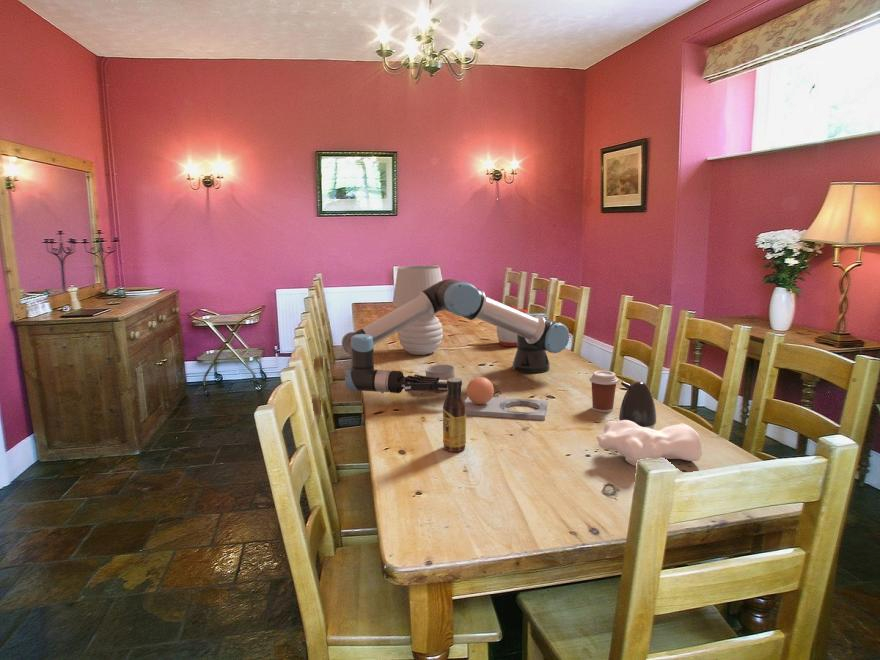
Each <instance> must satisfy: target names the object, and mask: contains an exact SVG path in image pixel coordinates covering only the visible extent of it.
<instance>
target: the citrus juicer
mask: <svg viewBox="0 0 880 660" xmlns="http://www.w3.org/2000/svg"><path fill="white" fill-rule="evenodd" d="M509 307H512V308H514V309H516V310H519V311H521V312H523V313H526V314H529V310H527V309H523V308H517V307H516V306H515V305H514V304H511V305H510V306H509ZM496 334H497V339H498V342H499V345H501V346H503V347H517V334H515V333H512V332H510V331H507V330H505V329H502V328H500V327H498V326H496Z"/></svg>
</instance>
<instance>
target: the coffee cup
mask: <svg viewBox="0 0 880 660" xmlns="http://www.w3.org/2000/svg"><path fill="white" fill-rule="evenodd" d="M588 378H589V380H588V381H589V382H590V383H591V398H592V400H591V401H592V402H591V403H592V409H593V410H594V411H596V412H599V413H611V412H613V411H614V404H615V395H616V388H617V384H618V383H619V382H620V381H619V378H618V377H617V376H616V373H615V372H613V371H611V370H610V371H608V370H596V371H593V372H592V375H590V377H588Z"/></svg>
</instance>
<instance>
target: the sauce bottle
mask: <svg viewBox="0 0 880 660" xmlns="http://www.w3.org/2000/svg"><path fill="white" fill-rule="evenodd" d="M447 385H448V389H447V394H446V397H445V401H444V403H443V406H442V437H443V438H442V443H443V448H444V450H446V451H447V452H449V453H459V452H462V451H465V448H466V444H467V415H466V404H465V399H464V398H463V396H462V393H463V392H462V386H463V380H462V378H460V377H455V378H449V379H447Z"/></svg>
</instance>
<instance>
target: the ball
mask: <svg viewBox="0 0 880 660" xmlns="http://www.w3.org/2000/svg"><path fill="white" fill-rule="evenodd" d="M494 394H495V388H494V385H493V383H492V382H491V381H490V380H489V379H488V378H486V377H485V376H484V377H483V376H477V377H474V378H472V379H471V380H470V381H469V382H468V384H467V386H466V395H467V397H468V398H469V399H470V400H471V401H472V402H473V403H476V404H485V403H487V402H489V401H490V400H491V398H492V397H494Z"/></svg>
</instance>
